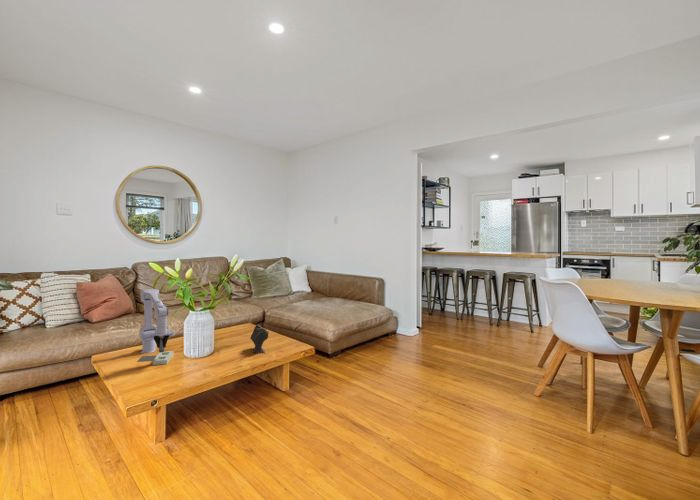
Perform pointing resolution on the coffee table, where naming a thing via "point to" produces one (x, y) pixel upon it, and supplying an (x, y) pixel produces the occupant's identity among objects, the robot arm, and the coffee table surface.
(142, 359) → the rubber mat
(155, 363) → the socket block
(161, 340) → the steel peg
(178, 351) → the coffee table surface
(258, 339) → the dark grey faceted sculpture
